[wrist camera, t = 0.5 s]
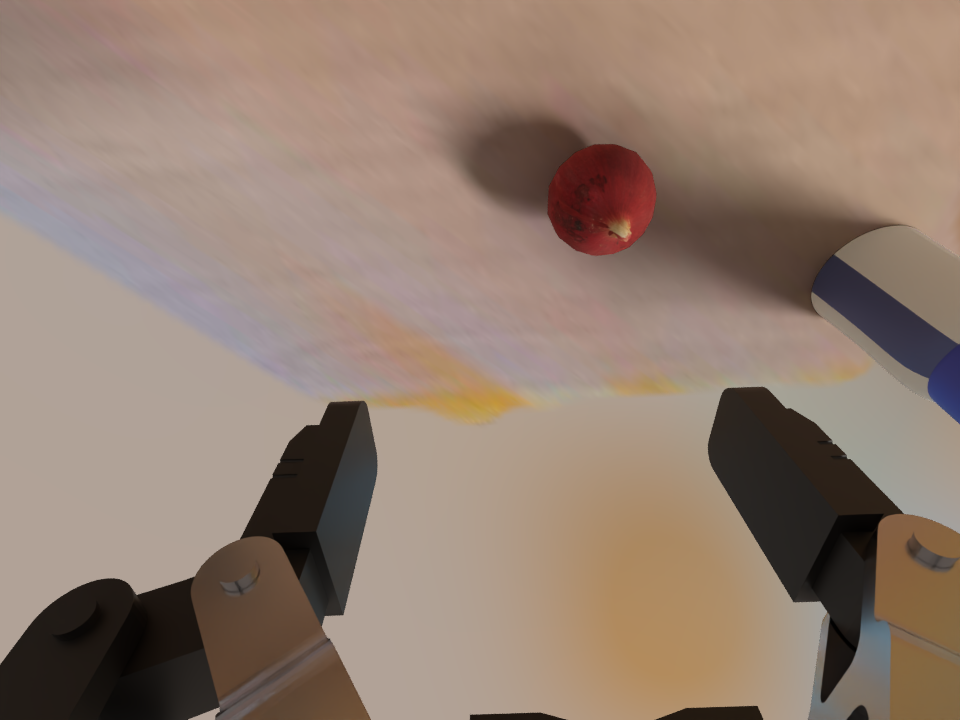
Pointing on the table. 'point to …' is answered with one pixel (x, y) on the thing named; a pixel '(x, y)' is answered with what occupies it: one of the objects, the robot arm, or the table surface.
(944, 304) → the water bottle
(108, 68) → the table surface
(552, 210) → the onion
